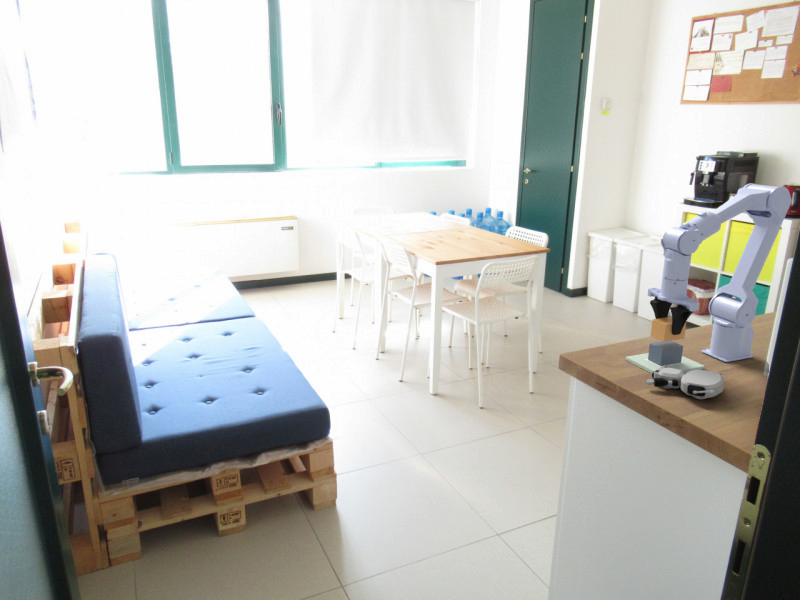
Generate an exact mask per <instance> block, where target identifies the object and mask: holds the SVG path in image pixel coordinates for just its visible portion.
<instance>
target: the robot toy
mask: <svg viewBox="0 0 800 600" xmlns="http://www.w3.org/2000/svg"><path fill="white" fill-rule="evenodd" d="M727 374H728V373H727V372H721V373H720V372H719V373H718V372H716V371H711V370H705V369H702V370H700V369H698V370H692V371H689V372H686V373H684V372H683V371H682V370H679V369H674V368H671V367H667V366H666V367H661V368H659V369H657V370H656V371H654V372H653V373H651V378H652V379H650V378H649V379H646V384H647V385H650V386H652V385H653V387H657V388H659V387H661V388H663V389H667V390H669V389H675V390H676V389H679V388H680V390H681V391H682V392H683V393H685V394H686V395H687V396H692V397H693V398H694V399H697V400H705V399H709V398H713V397H716V396H718V395H719V394H721V393H722V392H723V390H724V381H725V380H724V379H725V378H724V377H723V376H726V375H727Z"/></svg>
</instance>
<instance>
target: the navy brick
mask: <svg viewBox="0 0 800 600" xmlns="http://www.w3.org/2000/svg"><path fill="white" fill-rule="evenodd" d="M683 351H684V345H682V344H679V343H677V342H675V341H674V340H672V341H666V342H663V341H658V342H651V343H649V346H648V353H649V354H648V360H650V361H652V362H653V363H655V364H657V365H659V366H663V365H669V364H675V363H681V359H682V356H683Z"/></svg>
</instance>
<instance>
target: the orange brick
mask: <svg viewBox="0 0 800 600" xmlns="http://www.w3.org/2000/svg"><path fill="white" fill-rule="evenodd" d="M651 321H652V322H651V329H650V337H652V338H654V339H656V340H659V341H660V342H662V341H663V342H666V341H676V340H683V339H685V336H686V328H687V322H686V323H685V324H684V327H683V329H682V331H681V333H680V334H678V335H673V334H672V316H668V317H666V318H659V319H656V318H654V319H652V320H651Z"/></svg>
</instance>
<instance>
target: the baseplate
mask: <svg viewBox="0 0 800 600" xmlns="http://www.w3.org/2000/svg"><path fill="white" fill-rule="evenodd" d="M648 354H649V352H646V353H640V354H635V355H630V356H629V355H628V356H627V355H626V356H625V357H624V358H625V359H624V360H625V361H627V362H629V363H630V364H633V365H634V366H637V367H639V368H640V369H643V370H645V371H646V372H648V373H650V374H652V373H653V372H654V371H656V370H657V369H659V368H661V367H666V366H667V367H671V368H674V369H679V370H682V371H683V372H684V373H685V374H686V373H687V372H689V371H692V370H698V369H700V370H705V368H706V367H705V366H706V365H704V364H701V363H700V362H697V361H695V360H692V359H690V358H689V357H686V356H684V355H682V359H681V363H675V364H669V365H663V366H659V365H657V364H655V363H653V362H652V361H650V360H648Z"/></svg>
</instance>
